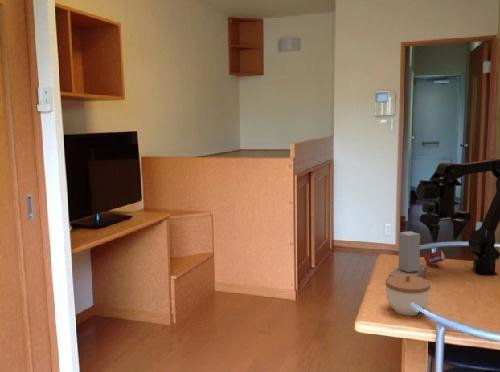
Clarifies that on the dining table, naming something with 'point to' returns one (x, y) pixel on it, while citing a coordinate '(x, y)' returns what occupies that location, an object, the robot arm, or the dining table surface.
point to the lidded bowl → (407, 293)
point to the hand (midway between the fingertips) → (444, 240)
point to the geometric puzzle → (434, 257)
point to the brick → (420, 273)
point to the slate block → (409, 251)
